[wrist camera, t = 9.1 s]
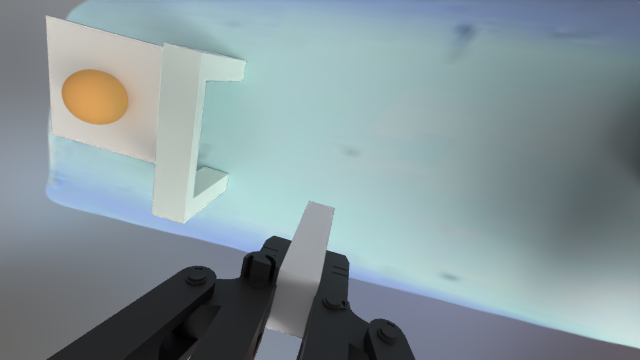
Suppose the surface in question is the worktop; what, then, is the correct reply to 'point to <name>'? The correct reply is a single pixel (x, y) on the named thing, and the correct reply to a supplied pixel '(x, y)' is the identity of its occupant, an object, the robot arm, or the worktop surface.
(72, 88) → the ball
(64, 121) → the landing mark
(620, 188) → the worktop surface
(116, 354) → the robot arm
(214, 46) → the worktop surface
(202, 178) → the bridge
